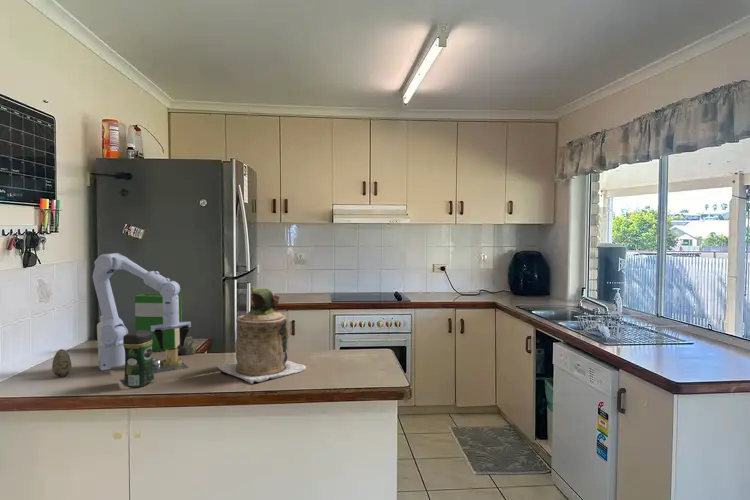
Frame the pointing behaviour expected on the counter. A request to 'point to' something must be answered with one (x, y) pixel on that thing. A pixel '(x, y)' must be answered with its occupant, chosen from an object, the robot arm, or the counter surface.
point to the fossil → (187, 347)
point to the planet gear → (171, 357)
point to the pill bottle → (99, 332)
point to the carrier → (160, 368)
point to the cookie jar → (262, 342)
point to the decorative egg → (61, 363)
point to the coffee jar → (138, 358)
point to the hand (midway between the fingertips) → (171, 347)
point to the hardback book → (156, 319)
